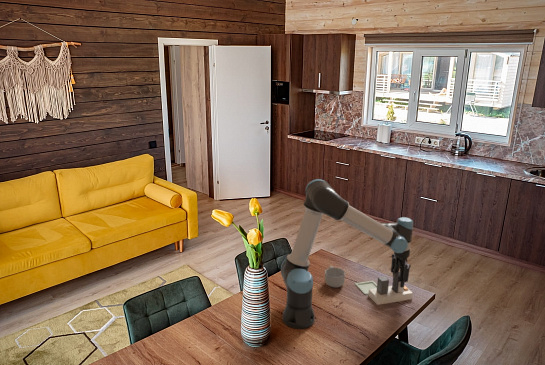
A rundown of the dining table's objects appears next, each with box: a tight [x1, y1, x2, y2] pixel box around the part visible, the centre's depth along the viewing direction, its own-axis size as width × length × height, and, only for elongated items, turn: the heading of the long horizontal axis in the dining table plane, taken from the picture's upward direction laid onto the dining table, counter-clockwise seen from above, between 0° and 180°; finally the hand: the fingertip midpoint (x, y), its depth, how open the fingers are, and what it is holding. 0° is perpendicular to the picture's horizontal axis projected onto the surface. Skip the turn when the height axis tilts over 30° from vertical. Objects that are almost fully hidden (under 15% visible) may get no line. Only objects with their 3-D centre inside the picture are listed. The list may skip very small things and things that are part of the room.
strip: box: [367, 276, 414, 306], centre depth 218 cm, size 20×9×12 cm, turn 107°
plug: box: [391, 271, 400, 293], centre depth 219 cm, size 4×4×11 cm
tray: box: [354, 280, 377, 296], centre depth 228 cm, size 11×11×1 cm
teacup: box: [324, 265, 346, 289], centre depth 232 cm, size 14×11×8 cm
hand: (397, 289), depth 220 cm, fingers open, 4 cm apart
